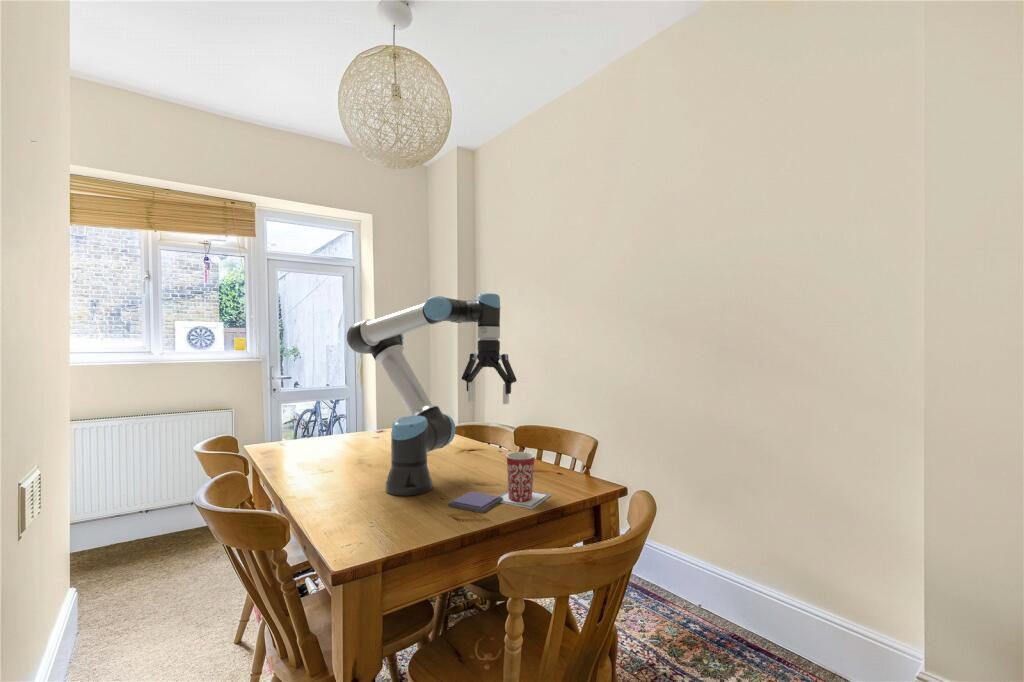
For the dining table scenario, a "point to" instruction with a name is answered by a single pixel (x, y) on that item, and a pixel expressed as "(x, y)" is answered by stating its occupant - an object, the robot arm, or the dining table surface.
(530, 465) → the mug
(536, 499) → the print card
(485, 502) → the ink pad
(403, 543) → the dining table surface
